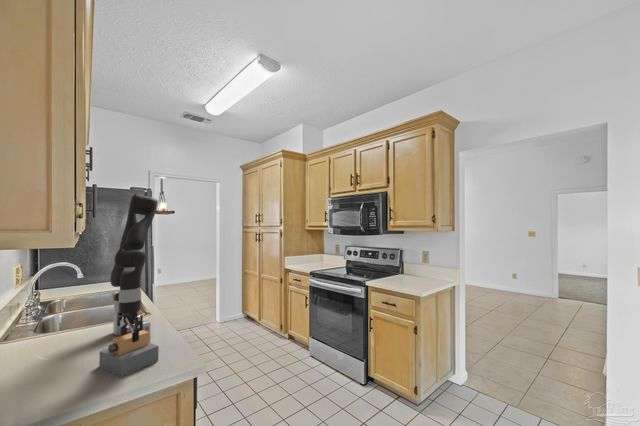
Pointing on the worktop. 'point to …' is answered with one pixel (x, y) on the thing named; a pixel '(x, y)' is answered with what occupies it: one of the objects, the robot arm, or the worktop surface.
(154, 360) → the stand
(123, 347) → the block
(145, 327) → the light bulb box
